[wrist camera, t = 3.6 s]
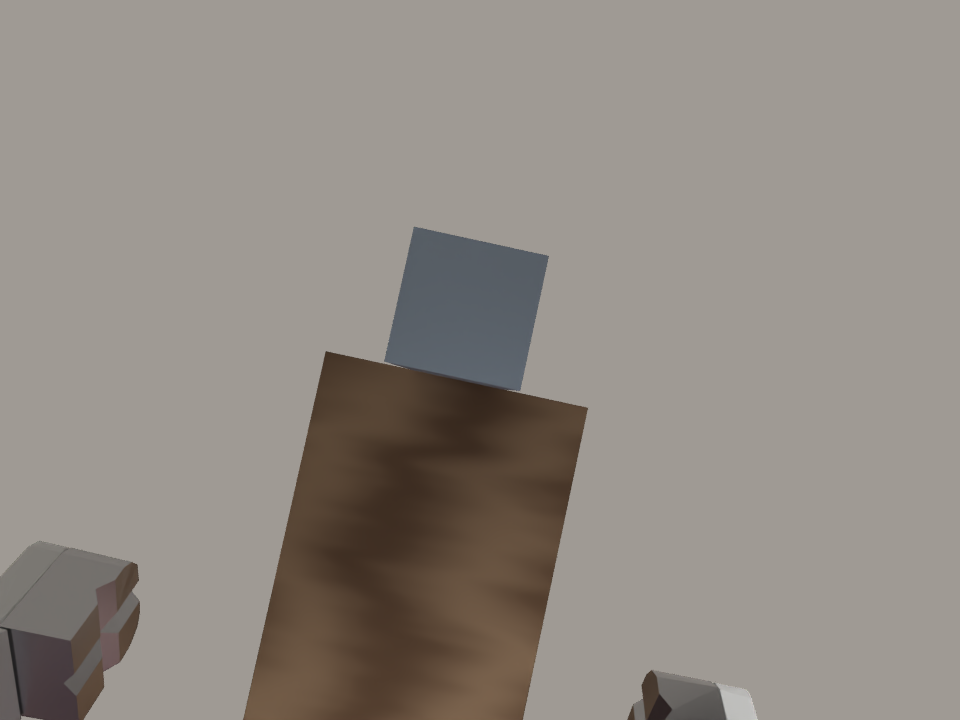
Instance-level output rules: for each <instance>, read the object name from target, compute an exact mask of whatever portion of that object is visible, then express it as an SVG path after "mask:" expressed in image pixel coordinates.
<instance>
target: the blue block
mask: <svg viewBox="0 0 960 720" xmlns="http://www.w3.org/2000/svg"><path fill="white" fill-rule="evenodd" d="M548 257H549V256H547V255H542V254H537V253H533V252H528V251H524V250H519V249H514V248H510V247H505V246H501V245H496V244H491V243H487V242H482V241H477V240H473V239H468V238H464V237H459V236H455V235H450V234H445V233H441V232H436V231H431V230H427V229H422V228H417V227H414V229H413V234H412V238H411V243H410V247H409V252H408V257H407V261H406V265H405V270H404V274H403V279H402V284H401V288H400V293H399V297H398V302H397V307H396V311H395V315H394V320H393V324H392V329H391V334H390V338H389V343H388V347H387V351H386V356H385V360H384V361H385V362H388V363H391V364H394V365H397V366H401V367H404V368H407V369H410V370H415V371H419V372H424V373H429V374H433V375H438V376H442V377H447V378H452V379H456V380H461V381H466V382H470V383H475V384H480V385H484V386H489V387H493V388H498V389H503V390H516V391H520V389H521V384H522V379H523V375H524V370H525V365H526V361H527V356H528V351H529V346H530V342H531V337H532V333H533V328H534V323H535V318H536V314H537V309H538V304H539V299H540V295H541V290H542V286H543V280H544V276H545V272H546V267H547V262H548Z"/></svg>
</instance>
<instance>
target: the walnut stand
mask: <svg viewBox="0 0 960 720" xmlns="http://www.w3.org/2000/svg"><path fill="white" fill-rule="evenodd" d="M587 410H588V408H586V407H582V406H576V405H572V404H567V403H563V402H558V401H554V400H549V399H545V398H540V397H535V396H531V395H526V394H521V393H517V392H512V391H507V390H503V389H498V388H493V387H489V386H484V385H480V384H475V383H470V382H466V381H461V380H456V379H452V378H447V377H442V376H438V375H433V374H429V373H424V372H419V371H415V370H410V369H405V368H401V367H396V366H391V365H387V364H382V363H378V362H372V361H368V360H364V359H359V358H354V357H350V356H345V355H340V354H336V353H331V352H327V351H326V353H325V357H324V362H323V367H322V371H321V375H320V380H319V384H318V389H317V393H316V398H315V402H314V406H313V411H312V416H311V420H310V424H309V429H308V434H307V438H306V442H305V447H304V451H303V456H302V460H301V465H300V469H299V474H298V478H297V482H296V487H295V491H294V496H293V500H292V505H291V509H290V514H289V518H288V523H287V527H286V532H285V536H284V541H283V545H282V549H281V554H280V558H279V563H278V567H277V572H276V576H275V581H274V585H273V590H272V594H271V599H270V603H269V607H268V612H267V616H266V621H265V625H264V630H263V634H262V639H261V643H260V648H259V652H258V656H257V661H256V665H255V670H254V674H253V679H252V683H251V688H250V692H249V697H248V701H247V706H246V710H245V715H244V719H243V720H523V715H524V711H525V706H526V701H527V697H528V692H529V687H530V682H531V677H532V673H533V668H534V663H535V658H536V653H537V649H538V644H539V639H540V634H541V629H542V625H543V620H544V615H545V611H546V605H547V601H548V596H549V591H550V586H551V582H552V577H553V572H554V568H555V563H556V558H557V553H558V548H559V544H560V538H561V534H562V529H563V525H564V519H565V515H566V510H567V505H568V501H569V495H570V491H571V486H572V481H573V477H574V472H575V467H576V462H577V457H578V453H579V448H580V443H581V439H582V433H583V429H584V424H585V419H586V414H587Z"/></svg>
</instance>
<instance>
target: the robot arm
mask: <svg viewBox="0 0 960 720" xmlns="http://www.w3.org/2000/svg"><path fill="white" fill-rule="evenodd" d="M138 581H139V577H138V566H137V564H135V563H133V562H129V561H125V560H120V559H116V558H112V557H108V556H104V555H99V554H95V553H91V552H87V551H83V550H78V549H74V548H68V547H64V546H59V545H55V544H51V543H46V542H42V541H39V542H36V543H34V544H32V545H31V546H29V547H28V548H27V549H26V550H25V551H24V552H23V553H22V554H21V555H20V556H19V557H18V558H17V559H16V560H15V561H14V563H13V564H12V565H11V566H10V567H9V568H8V569H7V570H6V571H5V572H4V573H3V574H2V576H1V577H0V720H20V719H21V716H26V717H31V718H37V719H43V720H83V719H84V718H85V716H86V715H87V713H88V712H89V710H90V708H91V707H92V705H93V704H94V702H95V701H96V699H97V697H98V696H99V694H100V693H101V691H102V690H103V688H104V678H103V672H104V671H105V670H107V669H109V668H111V667H112V666H114V665H116V664H118V663H119V662H120V661H121V660H122V658H123V656H124V655H125V653H126V651H127V650H128V648H129V646H130V644H131V642H132V639H133V636H134V634H135V631H136V629H137V625H138V620H139V614H140V602H139V600H138V598H137V597H136V596H135V595H134V594H133V592H132V589H133V588H134V587H135V585H136V584H137V582H138ZM642 692H643V699H642V700H640V701H638V702H636V703H635V704H633V706H632V709H631V712H630V714H629V717H628V720H758V719H757V715H756V712H755V708H754V705H753V701H752V697H751V695H750V694H749V692H748V691H747V690H746V689H743V688H738V687H732V686H727V685H723V684H718V683H712V682H710V681H705V680H700V679H695V678H690V677H685V676H679V675H675V674H669V673H664V672H659V671H654V670H651V671H650V672H649V673H648V674H647V675H646V677H645V679H644V682H643V684H642Z"/></svg>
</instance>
